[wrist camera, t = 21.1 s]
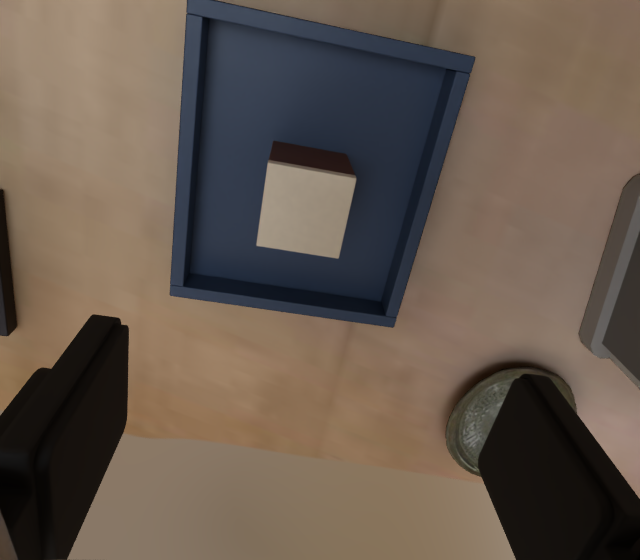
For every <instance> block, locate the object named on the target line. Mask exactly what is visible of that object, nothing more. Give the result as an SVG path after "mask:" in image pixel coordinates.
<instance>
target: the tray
mask: <svg viewBox="0 0 640 560" xmlns="http://www.w3.org/2000/svg"><path fill="white" fill-rule="evenodd" d="M187 13H188V14H186V30H185V46H184V63H183V80H182V96H181V113H180V130H179V147H178V163H177V180H176V197H175V214H174V230H173V247H172V264H171V281H170V284H171V285H170V296H176V297H183V298H190V299H197V300H204V301H211V302H218V303H225V304H232V305H239V306H246V307H253V308H260V309H267V310H274V311H281V312H288V313H295V314H302V315H309V316H316V317H323V318H330V319H337V320H344V321H350V322H357V323H364V324H371V325H378V326H385V327H392V328H393V327H394V325H395V322H396V319H397V318H396V317H397V315H398V312H399V308H400V305H401V302H402V299H403V295H404V292H405V289H406V285H407V282H408V279H409V275H410V272H411V269H412V265H413V262H414V259H415V256H416V252H417V249H418V246H419V242H420V239H421V236H422V232H423V229H424V226H425V222H426V219H427V216H428V213H429V209H430V206H431V203H432V199H433V196H434V193H435V189H436V186H437V183H438V179H439V176H440V173H441V170H442V166H443V163H444V160H445V156H446V153H447V150H448V146H449V143H450V140H451V136H452V133H453V130H454V127H455V123H456V120H457V117H458V113H459V110H460V107H461V103H462V100H463V97H464V93H465V90H466V87H467V84H468V80H469V77H470V74H469V73H471V71H472V68H473V64H474V61H475V57H474V56H469V55H464V54H460V53H455V52H450V51H446V50H441V49H437V48H432V47H427V46H423V45H418V44H414V43H409V42H404V41H400V40H395V39H391V38H386V37H381V36H377V35H372V34H368V33H363V32H358V31H354V30H349V29H345V28H340V27H335V26H331V25H326V24H321V23H317V22H312V21H308V20H303V19H298V18H294V17H289V16H285V15H280V14H275V13H271V12H266V11H262V10H257V9H252V8H248V7H243V6H239V5H234V4H229V3H225V2H220V1H216V0H187ZM273 141H279V142H285V143H290V144H295V145H301V146H306V147H312V148H317V149H323V150H328V151H333V152H339V153H344V154H347V157H348V159H349V161H350V164H351V166H352V169H353V171H354V174H355V176H356V179H357V180H356V184H355V189H354V193H353V197H352V202H351V206H350V211H349V215H348V220H347V224H346V228H345V233H344V237H343V242H342V246H341V251H340V255H339V258H338V259H337V258H331V257H325V256H318V255H312V254H306V253H299V252H293V251H287V250H280V249H274V248H268V247H261V246H256V243H257V236H258V228H259V221H260V214H261V207H262V200H263V193H264V186H265V179H266V172H267V165H268V160H269V156H270V152H271V148H272V144H273Z"/></svg>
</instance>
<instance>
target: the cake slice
mask: <svg viewBox="0 0 640 560" xmlns="http://www.w3.org/2000/svg"><path fill="white" fill-rule="evenodd" d="M356 180H357V179H356V176H355V174H354V171H353V169H352V166H351V164H350V161H349V159H348V157H347V154H344V153H339V152H333V151H328V150H323V149H317V148H312V147H306V146H301V145H295V144H290V143H285V142H279V141H273V144H272V148H271V152H270V156H269V160H268V165H267V172H266V179H265V186H264V193H263V200H262V207H261V214H260V221H259V228H258V236H257V243H256V246H261V247H268V248H274V249H280V250H287V251H293V252H299V253H306V254H312V255H318V256H325V257H331V258H337V259H338V258H339V255H340V251H341V246H342V242H343V237H344V233H345V228H346V224H347V220H348V215H349V211H350V206H351V202H352V197H353V193H354V189H355V184H356Z"/></svg>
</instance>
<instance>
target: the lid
mask: <svg viewBox="0 0 640 560" xmlns="http://www.w3.org/2000/svg"><path fill="white" fill-rule="evenodd" d="M525 373H527V374H535V375H542V376H547V377H549V378H550V379H551V380H552V381H553V382H554V384H555V385H556V387H557V388H558V389H559V391H560V392H561V393H562V395H563V396H564V397H565V399H566V400H567V401H568V403H569V404H570V405H571V407H572V408H573V410H574V411H575V412H576V414H577V408H576V404H575V400H574V396H573V394H572V391H571V388H570V387H569V385H568V384H566V383H565V381H564V380H563V379H562V378H560V377H559V376H558V375H556V374H553V373H551V372H548V371H545V370H542V369H539V368H534V367H519V368H511V369H504V370H501V371H498V372H496V373H494V374H492V375H491V376H489V377H487V378H485V379H482V380H481V381H480V382H478V383H477V384H476V385H475V386H473V387H472V388H471V389H470V390H469V391H468V392H466V393H465V394H464V396H463V397H462V398H461V399H460V400H459V402H458V403H457V404H456V406H455V408H454V409H453V411H452V413H451V415H450V417H449V421H448V423H447V427H446V439H447V441H446V443H447V448H448V450H449V452H450V454H451V456H452V457H453V459H454V460H455V461H456V462H457V463H458V464H459V465H460V466H461V467H462V468H464V469H465V470H466V471H468V472H470V473H472V474H474V475H477V476H480V477H481V474H480V472H479V468H478V457H479V454H480V452H481V450H482V447H483V445H484V443H485V441H486V439H487V436H488V434H489V432H490V430H491V428H492V426H493V423H494V421H495V419H496V417H497V415H498V412H499V410H500V408H501V406H502V404H503V401H504V399H505V397H506V395H507V393H508V390H509V388H510V386H511V384H512V382H513V380H514V379H516V378H519V377H520V376H521V375H522V374H525Z"/></svg>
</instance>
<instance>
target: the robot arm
mask: <svg viewBox="0 0 640 560" xmlns="http://www.w3.org/2000/svg"><path fill="white" fill-rule="evenodd" d="M128 345H129V328H128V326H127V325H121V321H120V319H119V318H116V317H109V316H101V315H92V316H91V317H90V318H89V319H88V320H87V322H86V323H85V325H84V326H83V327H82V329H81V330H80V331H79V333H78V334H77V335H76V337H75V338H74V339H73V341H72V342H71V343H70V345H69V346H68V347H67V349H66V350H65V351H64V353H63V354H62V355H61V357H60V358H59V359H58V361H57V362H56V363H55V365H54V366H53V367H52V369H49V368H40V369H38V370H37V371H36V372H35V373H34V374H33V375H32V376H31V377H30V379H29V380H28V381H27V382H26V384H25V385H24V386H23V388H22V389H21V390H20V391H19V393H18V394H17V395H16V396H15V398H14V399H13V400H12V402H11V403H10V404H9V405H8V407H7V408H6V409H5V410H4V412H3V413H2V414H1V415H0V560H67V558H68V556H69V553H70V551H71V549H72V547H73V544H74V542H75V540H76V538H77V535H78V533H79V531H80V529H81V526H82V524H83V522H84V519H85V517H86V515H87V513H88V511H89V508H90V506H91V504H92V502H93V499H94V497H95V494H96V493H97V490H98V488H99V486H100V484H101V481H102V479H103V477H104V474H105V472H106V470H107V468H108V465H109V463H110V461H111V459H112V457H113V454H114V452H115V450H116V447H117V445H118V443H119V441H120V439H121V436H122V434H123V432H124V429H125V425H126V421H127V401H128ZM478 468H479V472H480V474H481V477H482V479H483V481H484V484H485V486H486V489H487V491H488V493H489V496H490V498H491V501H492V503H493V505H494V508H495V510H496V512H497V515H498V517H499V520H500V522H501V525H502V527H503V529H504V532H505V534H506V536H507V539H508V541H509V544H510V546H511V549H512V551H513V553H514V556H515V558H516V560H640V499H639V498H638V496H637V495H636V493H635V492H634V491H633V489H632V488H631V487H630V485H629V484H628V483H627V481H626V480H625V479H624V477H623V476H622V475H621V473H620V472H619V470H618V469H617V468H616V466H615V465H614V464H613V462H612V461H611V460H610V458H609V457H608V456H607V454H606V453H605V451H604V450H603V449H602V447H601V446H600V445H599V443H598V442H597V441H596V439H595V438H594V437H593V435H592V434H591V433H590V431H589V430H588V428H587V427H586V426H585V424H584V423H583V422H582V420H581V419H580V418H579V416H578V415H577V414H576V412H575V411H574V410H573V408H572V407H571V405H570V404H569V403H568V401H567V400H566V399H565V397H564V396H563V395H562V393H561V392H560V391H559V389H558V388H557V387H556V385H555V384H554V382H553V381H552V380H551V379H550V378H549V377H547V376H542V375H535V374H527V373H525V374H522V375H521V376H520V377H519V378H516V379H514V380H513V382H512V384H511V386H510V388H509V390H508V393H507V395H506V397H505V399H504V401H503V404H502V406H501V408H500V410H499V412H498V415H497V417H496V419H495V421H494V423H493V426H492V428H491V430H490V432H489V434H488V436H487V439H486V441H485V443H484V445H483V447H482V450H481V452H480V454H479V457H478Z"/></svg>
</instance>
